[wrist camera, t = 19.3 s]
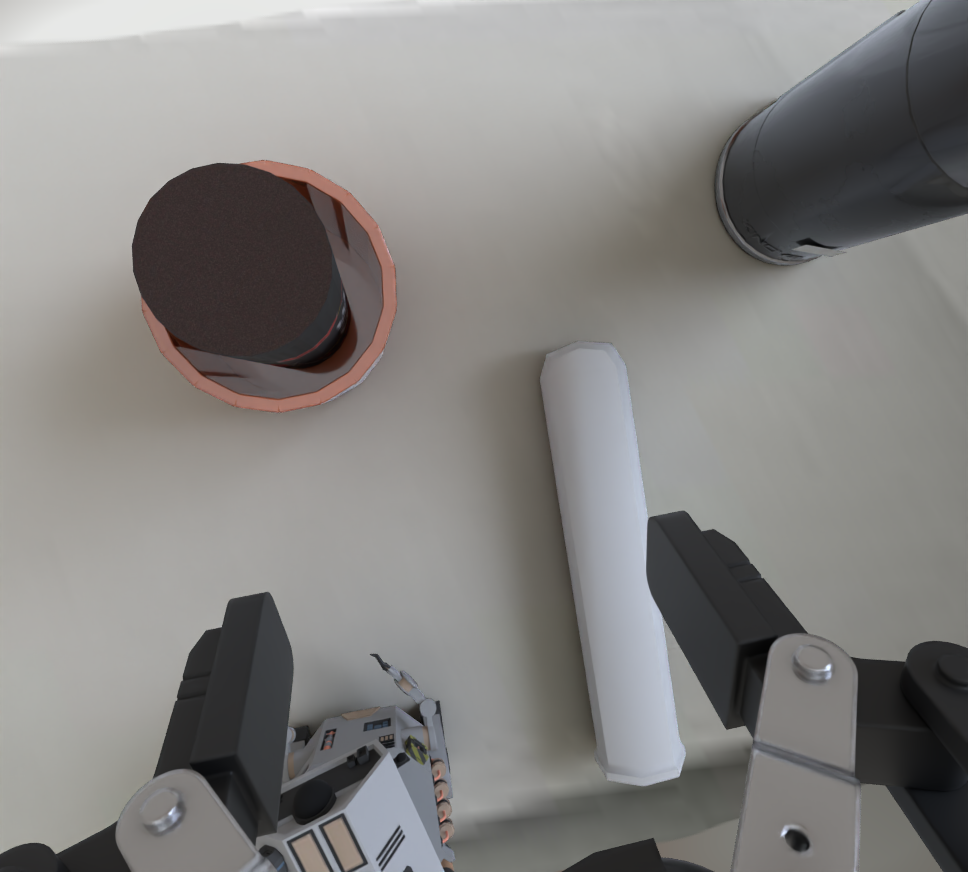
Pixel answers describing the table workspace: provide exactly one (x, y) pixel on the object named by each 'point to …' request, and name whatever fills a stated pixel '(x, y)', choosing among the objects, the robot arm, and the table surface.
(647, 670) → the tube
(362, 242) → the cup
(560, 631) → the table surface
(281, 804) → the figurine
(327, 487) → the table surface
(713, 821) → the table surface
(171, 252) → the deodorant
